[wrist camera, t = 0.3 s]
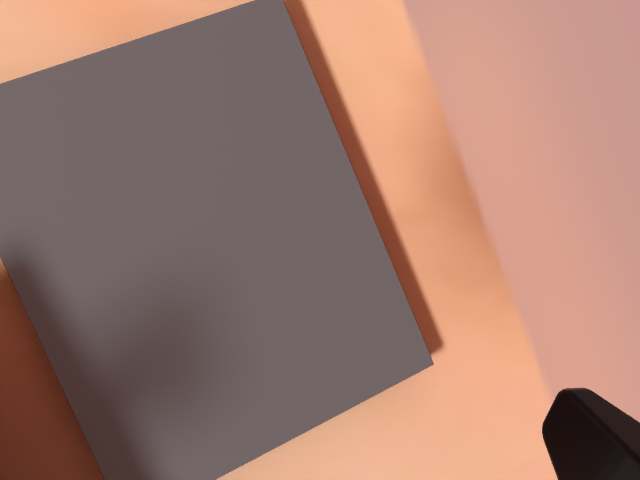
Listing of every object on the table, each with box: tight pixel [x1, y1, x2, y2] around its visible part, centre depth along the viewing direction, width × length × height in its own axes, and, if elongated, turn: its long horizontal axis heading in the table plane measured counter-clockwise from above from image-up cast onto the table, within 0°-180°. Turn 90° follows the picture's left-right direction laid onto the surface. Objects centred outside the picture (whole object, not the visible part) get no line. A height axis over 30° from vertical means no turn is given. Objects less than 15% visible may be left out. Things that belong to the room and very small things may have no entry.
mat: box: [0, 0, 434, 480], centre depth 22 cm, size 16×13×1 cm
